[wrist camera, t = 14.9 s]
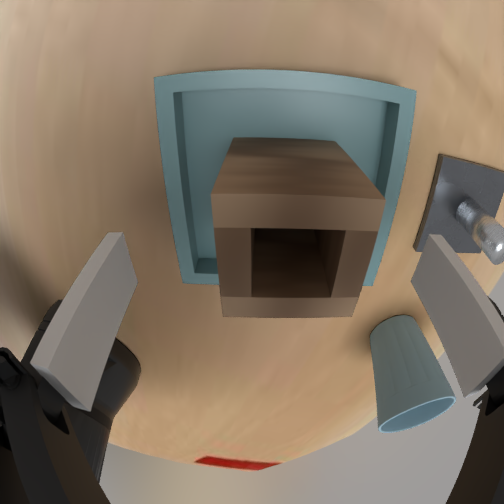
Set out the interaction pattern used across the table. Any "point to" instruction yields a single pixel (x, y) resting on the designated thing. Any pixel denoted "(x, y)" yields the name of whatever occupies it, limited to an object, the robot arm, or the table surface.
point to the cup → (406, 376)
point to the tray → (272, 126)
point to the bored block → (292, 228)
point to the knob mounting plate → (465, 208)
